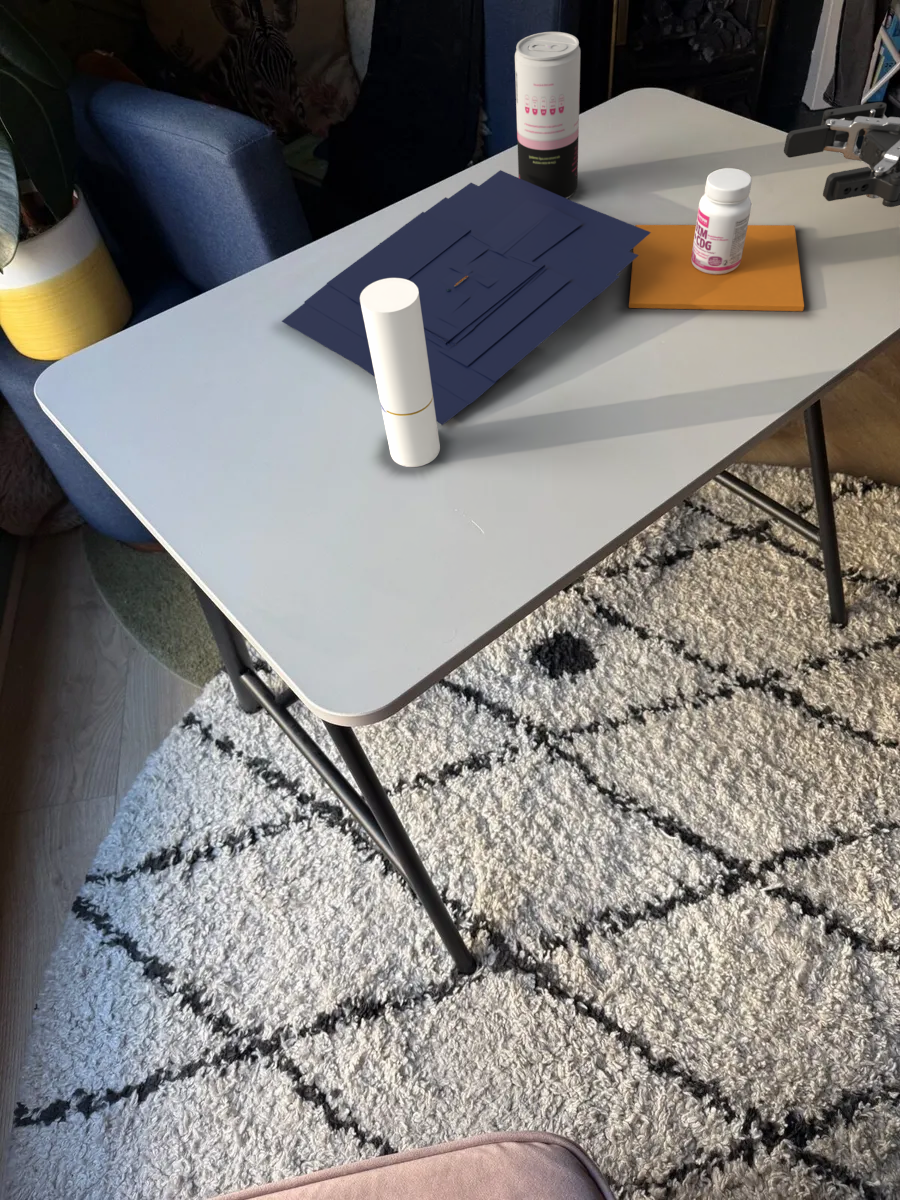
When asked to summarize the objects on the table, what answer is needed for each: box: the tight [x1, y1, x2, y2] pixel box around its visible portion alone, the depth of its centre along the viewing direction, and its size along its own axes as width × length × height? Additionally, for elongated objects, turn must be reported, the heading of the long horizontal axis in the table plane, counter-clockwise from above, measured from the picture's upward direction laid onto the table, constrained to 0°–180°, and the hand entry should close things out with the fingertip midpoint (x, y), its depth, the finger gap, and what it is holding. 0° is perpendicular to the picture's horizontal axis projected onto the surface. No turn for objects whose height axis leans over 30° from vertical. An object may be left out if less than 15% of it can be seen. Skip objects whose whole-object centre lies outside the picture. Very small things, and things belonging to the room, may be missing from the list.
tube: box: [360, 278, 441, 468], centre depth 69 cm, size 4×4×15 cm
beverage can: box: [514, 31, 581, 199], centre depth 93 cm, size 6×6×15 cm
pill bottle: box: [691, 167, 753, 275], centre depth 83 cm, size 5×5×8 cm
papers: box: [281, 169, 651, 426], centre depth 86 cm, size 24×30×4 cm
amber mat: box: [628, 224, 805, 312], centre depth 87 cm, size 16×14×1 cm
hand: (805, 166), depth 80 cm, fingers open, 8 cm apart
